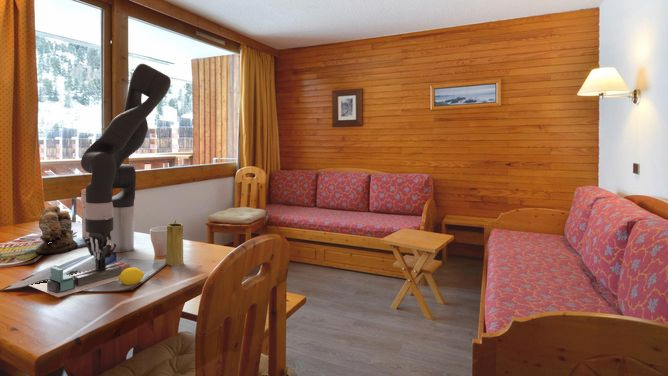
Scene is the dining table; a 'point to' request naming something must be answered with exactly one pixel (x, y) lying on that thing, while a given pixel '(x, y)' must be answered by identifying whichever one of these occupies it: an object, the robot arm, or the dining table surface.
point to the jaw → (97, 269)
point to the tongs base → (88, 278)
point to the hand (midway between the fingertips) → (100, 269)
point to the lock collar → (61, 278)
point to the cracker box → (83, 199)
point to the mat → (77, 288)
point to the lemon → (131, 276)
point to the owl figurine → (55, 231)
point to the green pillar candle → (174, 244)
